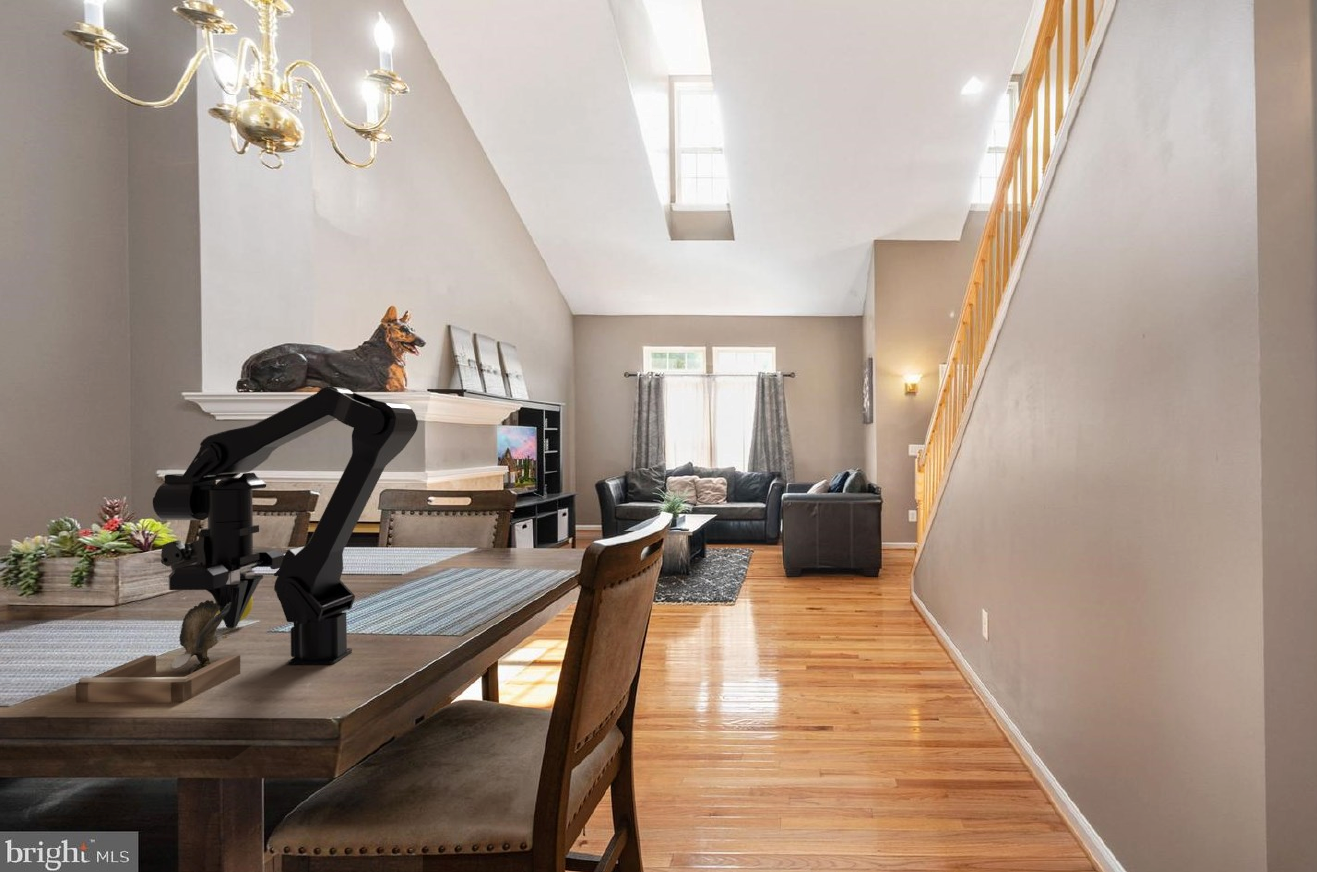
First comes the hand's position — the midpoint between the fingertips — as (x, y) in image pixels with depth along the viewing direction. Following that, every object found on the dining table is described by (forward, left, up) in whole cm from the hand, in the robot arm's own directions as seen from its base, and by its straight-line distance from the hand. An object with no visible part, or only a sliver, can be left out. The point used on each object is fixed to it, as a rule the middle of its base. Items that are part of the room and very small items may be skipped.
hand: (231, 627), depth 109 cm
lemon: (+10, -17, -4) cm, 20 cm away
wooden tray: (0, +14, -4) cm, 14 cm away
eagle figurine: (0, +7, -4) cm, 8 cm away
